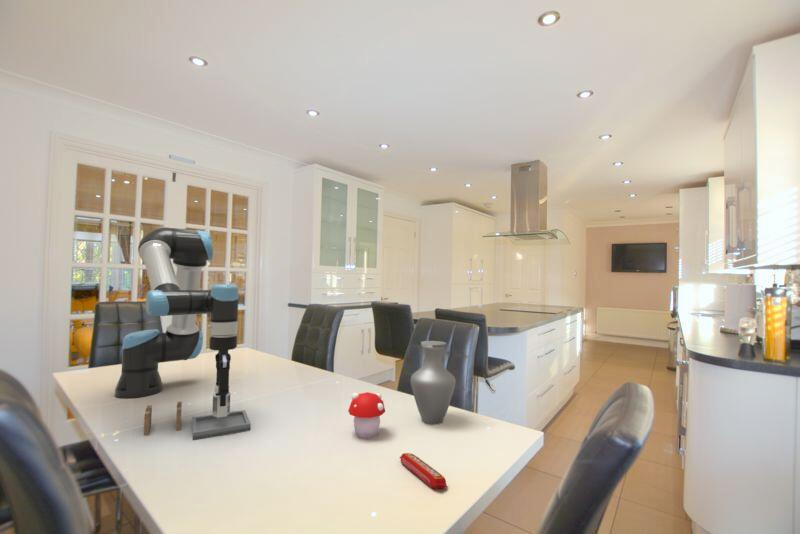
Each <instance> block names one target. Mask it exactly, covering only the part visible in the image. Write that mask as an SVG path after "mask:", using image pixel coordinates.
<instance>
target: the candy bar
mask: <svg viewBox="0 0 800 534" xmlns="http://www.w3.org/2000/svg"><path fill="white" fill-rule="evenodd" d="M399 459H400V462H401V464H402V465H404V467H405V468H407V469H408V470H409V471H410V472H412V473H413V474H415V475H416V476H417V477H418V478H419V479H421V480H422V481H423V482H424V483H425V484H427V485H428V486H430V487H431V488H433V489H444V488H448V485H447V481H446V477H445V476H443V475H442V474H441V473H440V472H438V470H436V469H434V468H433V467H432V466H430V465H429V464H427V462H425V461H424V460H422V459H421V458H420V457H418V456H417V455H416V454H413V453H410V452H409V453H408V452H405V453H402V454H401V455H400V456H399Z"/></svg>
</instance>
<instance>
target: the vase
mask: <svg viewBox="0 0 800 534" xmlns="http://www.w3.org/2000/svg"><path fill="white" fill-rule="evenodd" d="M420 345H421V347H422V351H423V354H424V360H423V364H422V365H421V367H420V368H419V369H418V370H416V371H415V372H414V373H413V374H412V375H411V376H410V385H411V386H410V387H411V391H412V394H413V397H414V401H415V405H416V407H417V411H418V413H419V415H420V418H421V421H422V422H423V423H425V424H426V425H439V424H442V423H443V421H444V419H445V417H446V414H447V412H448V410H449V407H450V405H451V404H450V403H451V401H452V399H453V398H452V397H453V394H454V391H455V387H456V382H457V381H456V377H455V376H454V375H453V374H452V373H451V372H450V371H449V370H447V368H446V367H445V366H444V363H443V355H444V354H443V353H444V351H445V347H446V345H447V342H445V341H441V340H440V341H439V340H424V341H421V342H420Z"/></svg>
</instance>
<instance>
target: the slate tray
mask: <svg viewBox="0 0 800 534" xmlns="http://www.w3.org/2000/svg"><path fill="white" fill-rule="evenodd" d="M191 420H192V421H191V422H192V423H191V425H192V426H191V430H192V431H191V432H192V441H195V440H202V439H207V438H208V439H209V438H212V437H213V438H215V437H221V436H225V435H226V436H227V435H232V434H237V433H243V432H244V433H245V432H249V431H250V430H251V428H252V427H251V426H252V424H251V423H252V422H251V421H250V419H249V416H248V414H247V412H246V410H245V409H242V410H237V411H236V410H235V411H230V413H229V414H228V415H227V416H226V417H219V418H217V417H214V416H213V415H212V414H208V415H200V416H193V417H192V419H191Z"/></svg>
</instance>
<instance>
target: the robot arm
mask: <svg viewBox="0 0 800 534" xmlns="http://www.w3.org/2000/svg"><path fill="white" fill-rule="evenodd" d="M137 249H138V251H137V253H138V255H139V257H140V259H141V260H142V261H143V262H144V266H145V269H146V273H147V277H148V282H149V286H150V290H149V291H147V293H146V295H145V310H146V314H147V315H148V316H152V317H154V316H155V317H157V316H160V317H165V316H166V317H167V316H169V317H170V316H171V322H170V324H169V325H167V326H166V327H165V328H166V329H165V332H161V331H160V330H159V329H157V328H155V329H145V330H139V331H134V332H130V333H128V334H126V335H125V336H124V337H123V339H122V347H121V350H122V353H121V354H122V357H121V374H120V377H119V379H118V382H117V384H116V387H115V390H114V396H115V397H116V398H121V399H133V398H134V399H136V398H140V397H141V398H142V397H148V396H151V395H155V394H159V393H161V392H162V391H163V385H164V384H163V381H162V377H161V376H160V372H159V364H160V363H169V362H178V361H187V360H192V359H196V358H197V357H198V356H199V355H200V353H201V351H202V349H203V348H202V347H203V342H204V340H203V339H204V335H203V332H202V331H201V330H200V327H199V326H198V325H197V324H196V321H197V315H209V314H210V319H209V320H210V322H209V323H210V324H208V325H207V328H208V329H209V332H210V334H209V335H210V337H209V350H211V351H218V352H217V353H216V354H215V357H214V358H215V368H216V382H215V386H218V393H217V394H216V396H218V397H217V418H219V417H226V416H227V406H228V393H229V392H230V385H229V384H230V382H229V381H230V369H231V360H232V359H231V358H232V357H231V353H229V351H230V350H235V349H236V348H237V347H238V336H237V334H238V331H239V328H238V327H239V325H238V324H239V318H238V317H239V315H238V314H239V297H240V296H239V287H238V286H237V284H212V286H211V288H210V289H201V290H200V285H201V278H202V270H203V269H204V268H205V267H207V263H208V261H212V259H213V256H214V246H213V240H212V237H211V235H210V233H209V232H208V231H205V230H198V229H190V228H189V229H188V228H175V227H172V228H171V227H167V226H166V227H159V228H155V229H153V230H150V231H149V232H147V233H146V234H145V235H144V236H143V237H142V238H141V239H140V241H139V244H138V247H137ZM171 259H172V261H171ZM173 264H174V266H175V267H176V271H175V270H174V266H173Z"/></svg>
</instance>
